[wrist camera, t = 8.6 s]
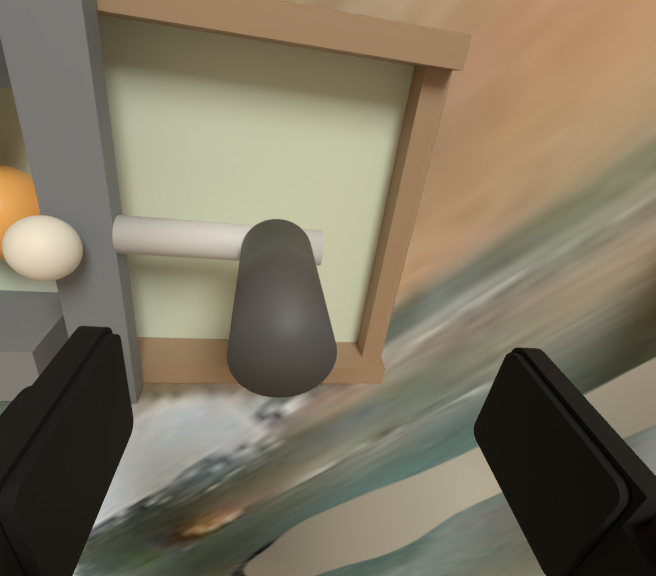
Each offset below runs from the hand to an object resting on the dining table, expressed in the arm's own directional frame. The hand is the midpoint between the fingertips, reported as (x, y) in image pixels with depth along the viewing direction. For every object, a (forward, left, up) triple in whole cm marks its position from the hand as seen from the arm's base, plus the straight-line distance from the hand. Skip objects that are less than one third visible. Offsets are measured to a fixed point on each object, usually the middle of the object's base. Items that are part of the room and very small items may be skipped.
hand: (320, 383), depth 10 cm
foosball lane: (+5, 0, -14) cm, 14 cm away
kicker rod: (+5, 0, -12) cm, 13 cm away
